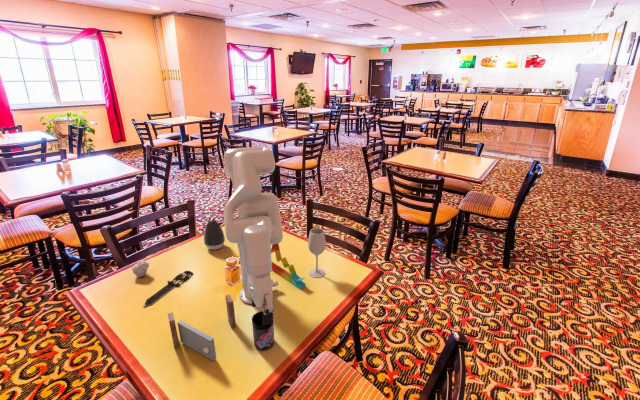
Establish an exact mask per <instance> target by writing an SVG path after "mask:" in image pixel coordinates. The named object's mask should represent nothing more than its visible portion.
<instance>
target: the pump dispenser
mask: <svg viewBox="0 0 640 400" xmlns="http://www.w3.org/2000/svg"><path fill="white" fill-rule="evenodd" d="M223 224H224V222H223V221H221V222H218V220H215V219H211V220H209V221H208V222H207V223H206V225H205V228H204V233H203V243H204V245H205V247H207V249H209V250H213V251H215V250H219V249H220V248H222V247H223V246H224V244H225V241H226V238H225V237H226V235H225V234H224V230H223V228H222V225H223Z"/></svg>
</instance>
